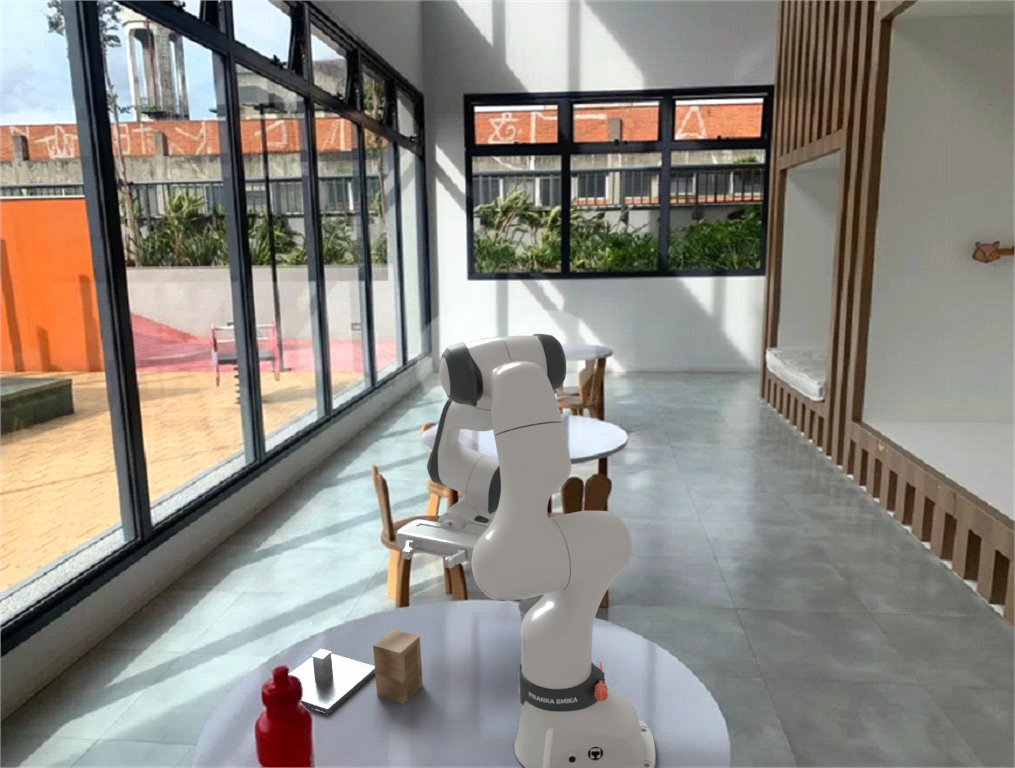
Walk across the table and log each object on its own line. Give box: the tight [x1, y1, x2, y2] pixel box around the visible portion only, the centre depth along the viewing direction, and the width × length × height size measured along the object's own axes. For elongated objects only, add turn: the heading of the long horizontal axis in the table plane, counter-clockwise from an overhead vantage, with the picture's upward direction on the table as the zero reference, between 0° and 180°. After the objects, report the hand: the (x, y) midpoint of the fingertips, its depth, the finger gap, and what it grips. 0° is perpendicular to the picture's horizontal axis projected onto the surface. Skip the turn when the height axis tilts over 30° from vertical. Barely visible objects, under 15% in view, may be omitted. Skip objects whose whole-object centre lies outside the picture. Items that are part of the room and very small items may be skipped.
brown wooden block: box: [372, 629, 424, 704], centre depth 131 cm, size 6×6×10 cm
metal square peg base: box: [289, 648, 376, 715], centre depth 134 cm, size 14×14×6 cm
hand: (425, 560), depth 138 cm, fingers open, 8 cm apart
